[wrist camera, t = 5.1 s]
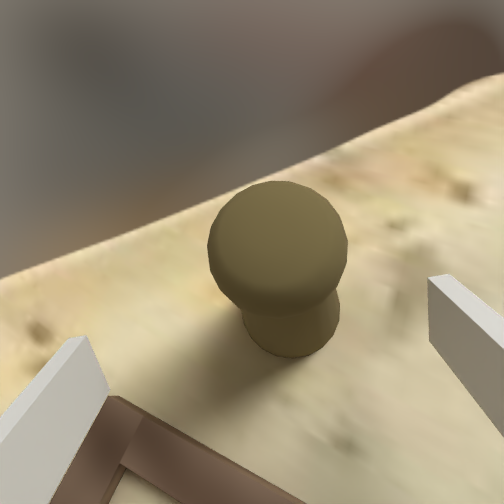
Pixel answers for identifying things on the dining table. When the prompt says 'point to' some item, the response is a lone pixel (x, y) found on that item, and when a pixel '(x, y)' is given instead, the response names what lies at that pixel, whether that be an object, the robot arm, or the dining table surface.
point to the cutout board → (157, 463)
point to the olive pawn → (281, 264)
